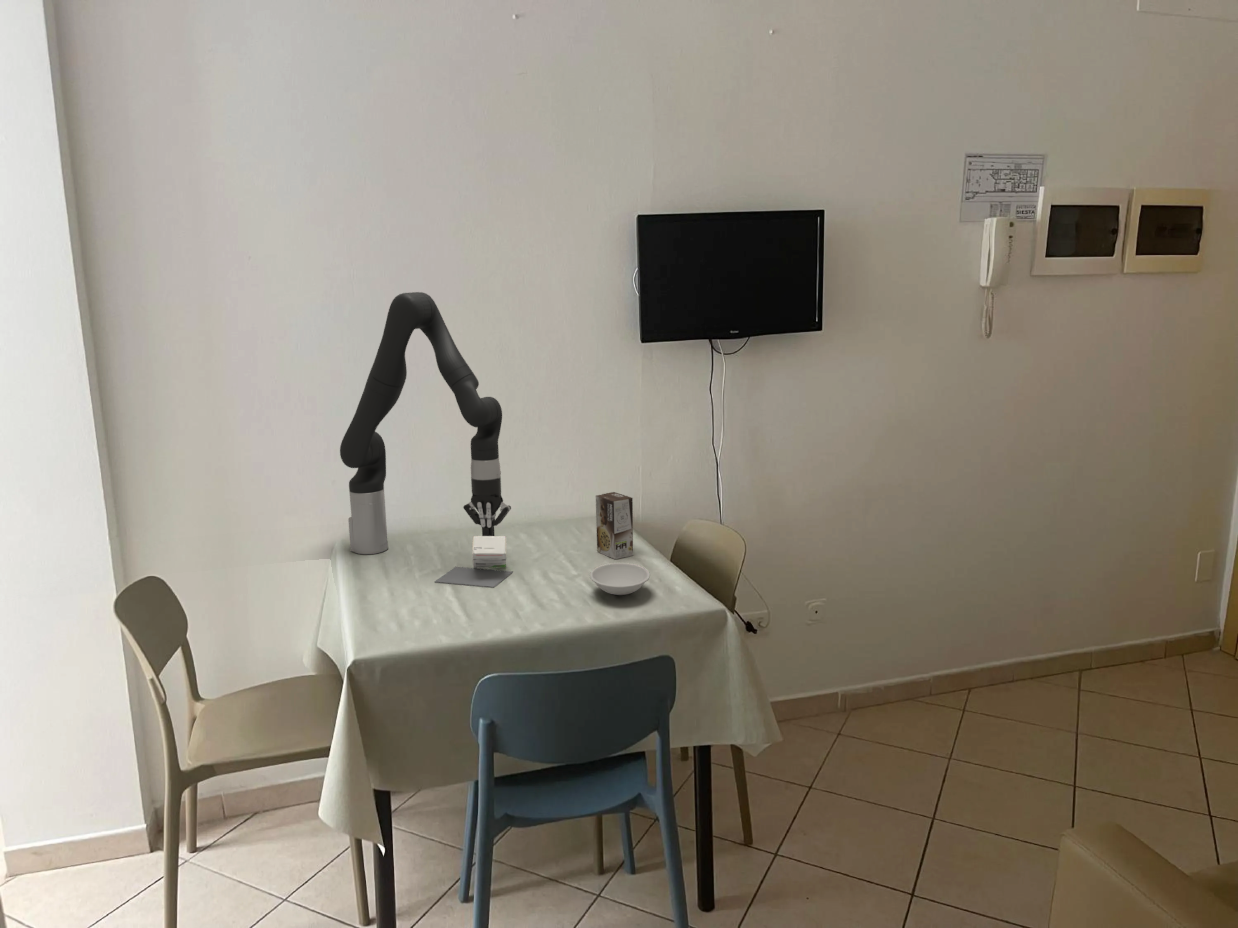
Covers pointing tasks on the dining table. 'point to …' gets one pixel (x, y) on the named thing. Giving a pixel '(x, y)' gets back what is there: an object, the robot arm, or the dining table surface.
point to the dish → (619, 577)
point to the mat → (474, 577)
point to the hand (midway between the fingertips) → (488, 540)
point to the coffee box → (614, 525)
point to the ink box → (489, 551)
